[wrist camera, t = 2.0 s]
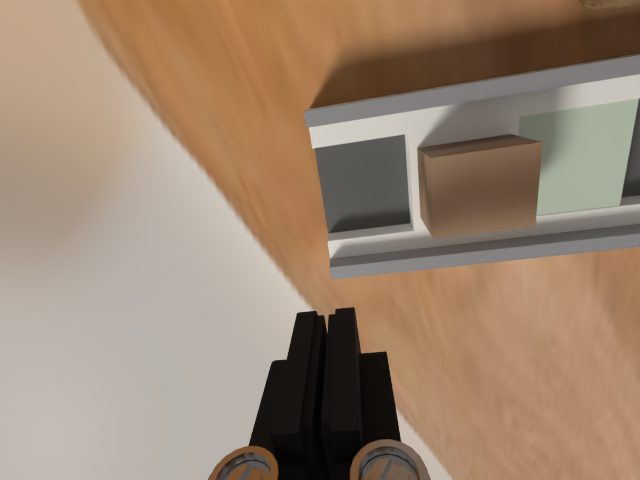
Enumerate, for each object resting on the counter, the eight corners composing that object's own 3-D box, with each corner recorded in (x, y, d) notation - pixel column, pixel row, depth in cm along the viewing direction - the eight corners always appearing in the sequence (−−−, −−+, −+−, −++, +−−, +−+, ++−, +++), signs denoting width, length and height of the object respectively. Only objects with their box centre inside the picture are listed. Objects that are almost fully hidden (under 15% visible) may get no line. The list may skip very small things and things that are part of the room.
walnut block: (416, 147, 23) (430, 158, 20) (510, 134, 23) (542, 141, 19) (420, 217, 25) (433, 238, 22) (506, 206, 24) (535, 226, 21)
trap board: (309, 108, 25) (303, 111, 21) (737, 36, 21) (807, 27, 18) (333, 258, 29) (331, 279, 26) (689, 218, 26) (738, 236, 23)
